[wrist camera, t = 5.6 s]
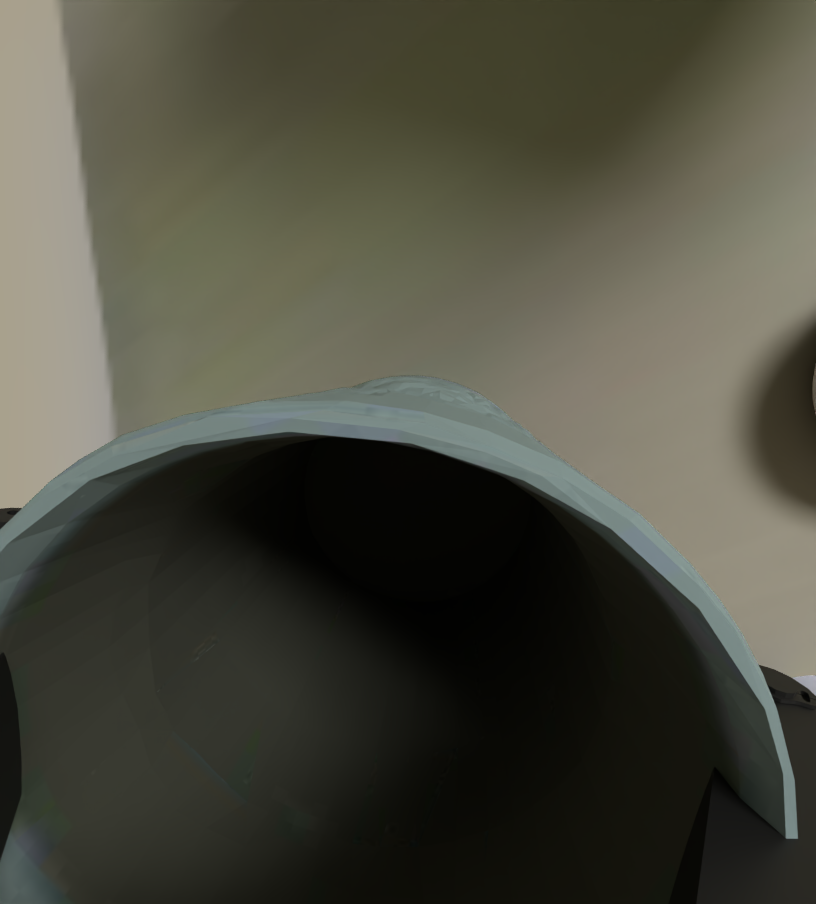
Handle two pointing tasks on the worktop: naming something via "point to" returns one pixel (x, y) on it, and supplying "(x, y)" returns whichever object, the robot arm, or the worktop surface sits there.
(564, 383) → the worktop surface
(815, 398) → the small pan
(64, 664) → the grey cup
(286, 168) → the worktop surface
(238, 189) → the worktop surface
